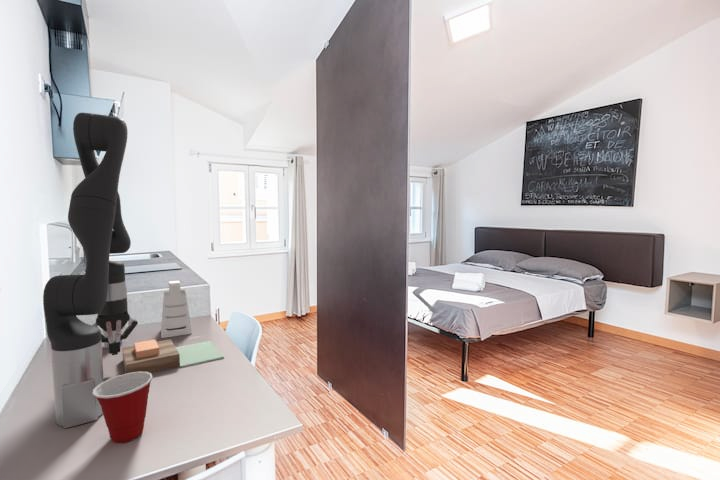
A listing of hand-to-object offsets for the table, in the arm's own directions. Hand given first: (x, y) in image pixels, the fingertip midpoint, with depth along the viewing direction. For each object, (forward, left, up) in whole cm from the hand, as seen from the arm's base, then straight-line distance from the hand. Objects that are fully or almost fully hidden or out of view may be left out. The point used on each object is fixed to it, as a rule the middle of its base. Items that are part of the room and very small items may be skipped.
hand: (114, 354), depth 112 cm
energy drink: (+25, 0, -5) cm, 25 cm away
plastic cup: (-40, 0, -5) cm, 40 cm away
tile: (0, -8, -1) cm, 8 cm away
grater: (+29, -21, -5) cm, 36 cm away
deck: (0, -9, -5) cm, 10 cm away
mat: (0, -23, -5) cm, 23 cm away
